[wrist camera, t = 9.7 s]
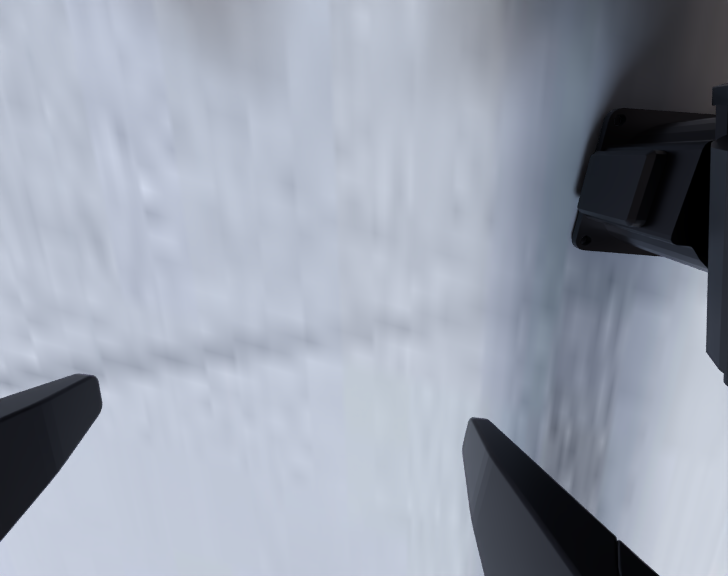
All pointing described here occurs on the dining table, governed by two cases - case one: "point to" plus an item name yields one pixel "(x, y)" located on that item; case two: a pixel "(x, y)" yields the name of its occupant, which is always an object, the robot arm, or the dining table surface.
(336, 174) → the dining table surface
